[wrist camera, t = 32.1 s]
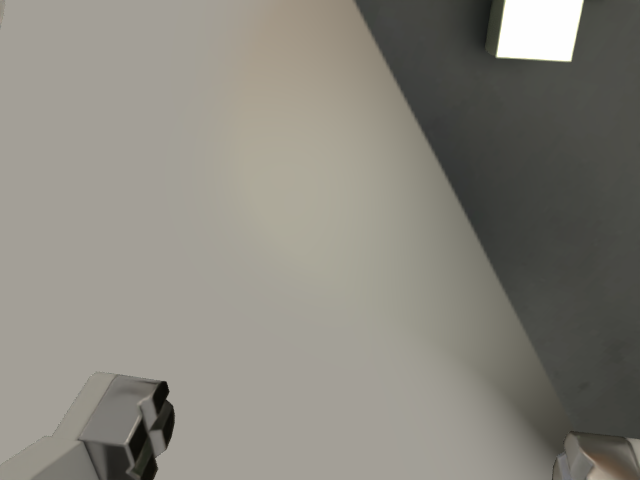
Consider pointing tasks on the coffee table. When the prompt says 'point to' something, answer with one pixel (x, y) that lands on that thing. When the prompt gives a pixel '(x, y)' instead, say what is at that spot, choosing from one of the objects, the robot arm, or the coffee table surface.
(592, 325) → the coffee table surface
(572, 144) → the coffee table surface
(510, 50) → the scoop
